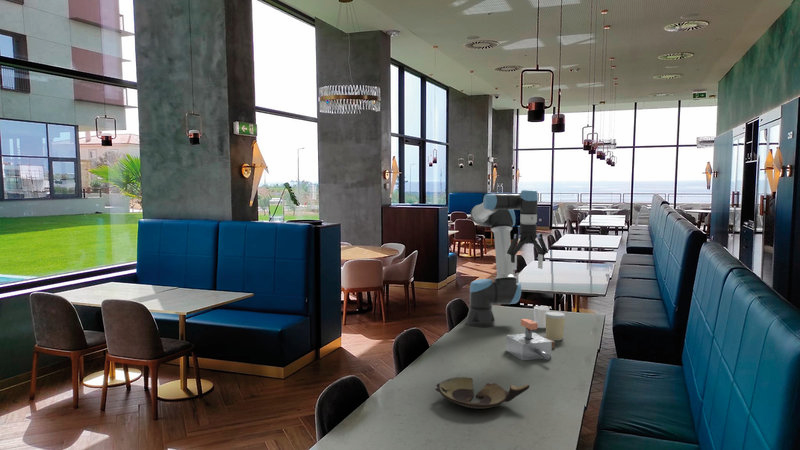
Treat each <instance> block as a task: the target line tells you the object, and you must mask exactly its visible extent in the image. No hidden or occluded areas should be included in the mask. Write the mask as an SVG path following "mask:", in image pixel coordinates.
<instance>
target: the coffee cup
mask: <svg viewBox="0 0 800 450" xmlns="http://www.w3.org/2000/svg"><path fill="white" fill-rule="evenodd" d="M545 316H546V328H545V337H547V338H549V339H551V340H553V341H562V340H563V339H564V332H565V321H566V314H565V313H564V312H561V311H549V312H546V314H545Z"/></svg>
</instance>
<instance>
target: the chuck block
mask: <svg viewBox="0 0 800 450" xmlns="http://www.w3.org/2000/svg"><path fill="white" fill-rule="evenodd" d="M544 337H545V336H542V335H540V334H538V333H536V332H532V339H531V340H526V339H525V333H515V334H507V335H506V346H505V347H506V348H505V351H506V352H507V353H510V354H511V355H513V356H514V357H516V358H517V359H518V360H519V359H520V360H521V361H522V362H523V361H530V360H531V361H532V360H540V359H541V360H542V359H546V360H547V361H549V360H551V359H552V349H553V348H552V341H550V340H548V339H546V338H544Z"/></svg>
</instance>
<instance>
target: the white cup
mask: <svg viewBox="0 0 800 450" xmlns="http://www.w3.org/2000/svg"><path fill="white" fill-rule="evenodd" d="M546 312H550V307H548V306H544V305H535V306H534V307H533V319H534V320H533V321H534V322H536V323H538V324H537V329H546V316H545V314H546Z"/></svg>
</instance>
